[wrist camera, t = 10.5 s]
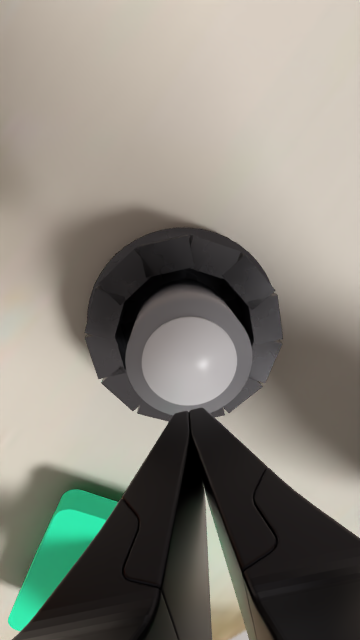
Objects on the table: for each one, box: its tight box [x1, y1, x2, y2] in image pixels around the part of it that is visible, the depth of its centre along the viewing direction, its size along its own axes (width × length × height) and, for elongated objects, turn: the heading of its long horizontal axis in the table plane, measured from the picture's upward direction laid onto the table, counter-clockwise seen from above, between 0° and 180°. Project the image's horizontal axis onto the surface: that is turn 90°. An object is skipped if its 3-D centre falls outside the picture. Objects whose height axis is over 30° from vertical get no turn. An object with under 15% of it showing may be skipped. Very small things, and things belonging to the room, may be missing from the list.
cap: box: [125, 279, 252, 415], centre depth 15 cm, size 5×5×5 cm
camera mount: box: [8, 489, 118, 631], centre depth 19 cm, size 12×8×10 cm, turn 155°
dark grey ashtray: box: [85, 228, 283, 421], centre depth 17 cm, size 11×11×3 cm
